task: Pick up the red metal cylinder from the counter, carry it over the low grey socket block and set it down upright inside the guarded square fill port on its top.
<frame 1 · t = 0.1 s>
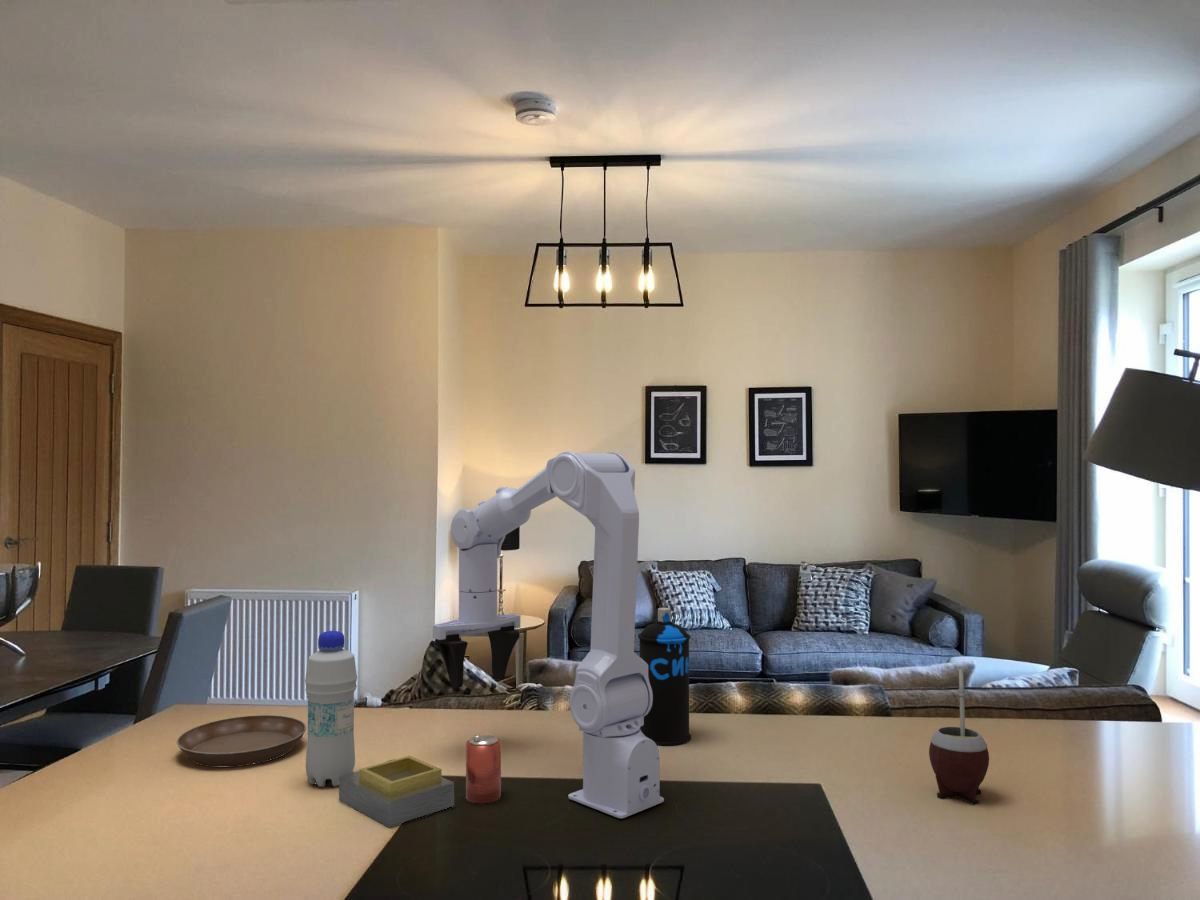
hand: (477, 681, 129), 10 cm above the kitchen counter, tool pointing down, fingers open, 7 cm apart
grey socket block: (395, 803, 108), on the kitchen counter
mate gourd: (958, 795, 111), on the kitchen counter
bottle: (330, 782, 115), on the kitchen counter
aerosol can: (664, 739, 134), on the kitchen counter
plant saucer: (243, 753, 128), on the kitchen counter
red metal cylinder: (483, 797, 110), on the kitchen counter
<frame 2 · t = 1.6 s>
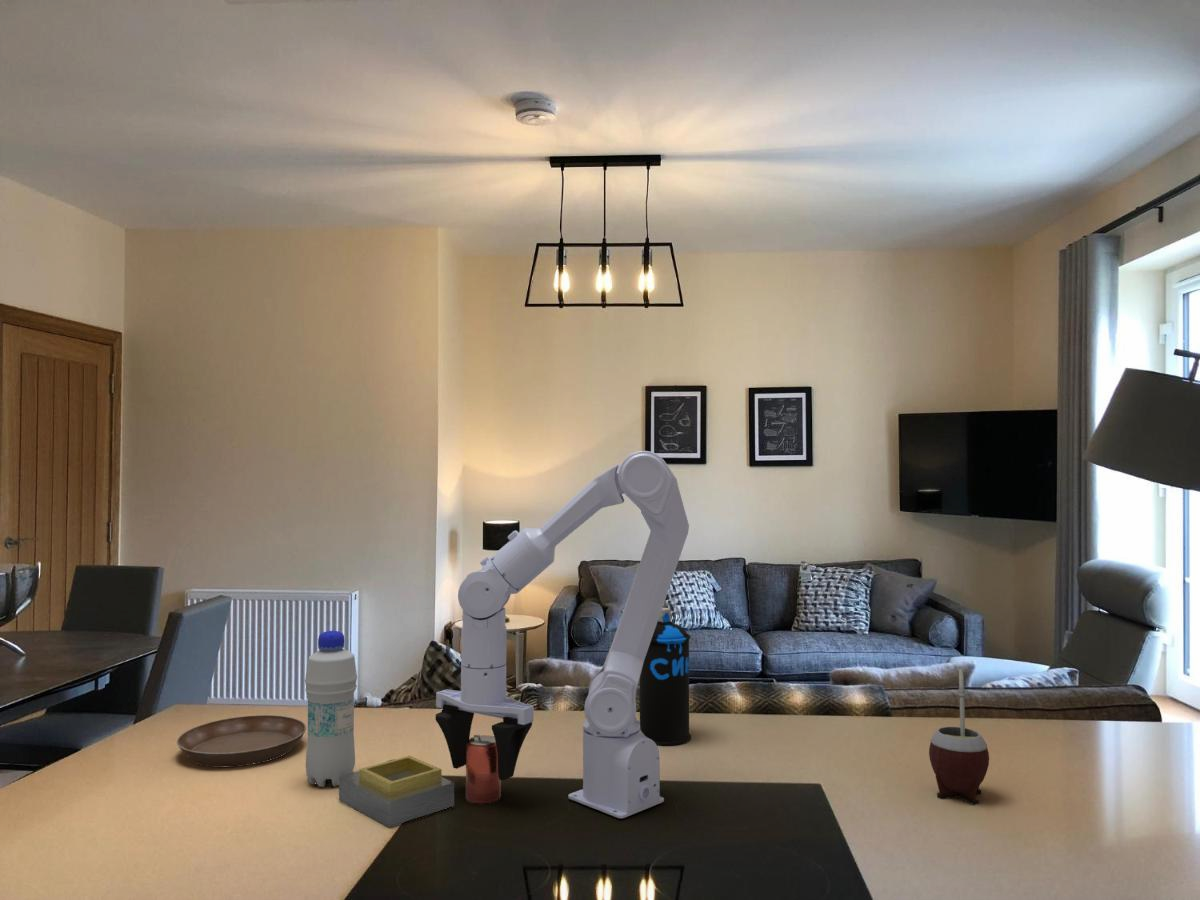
hand: (482, 771, 110), 3 cm above the kitchen counter, tool pointing down, fingers open, 7 cm apart
nothing on the kitchen counter moved.
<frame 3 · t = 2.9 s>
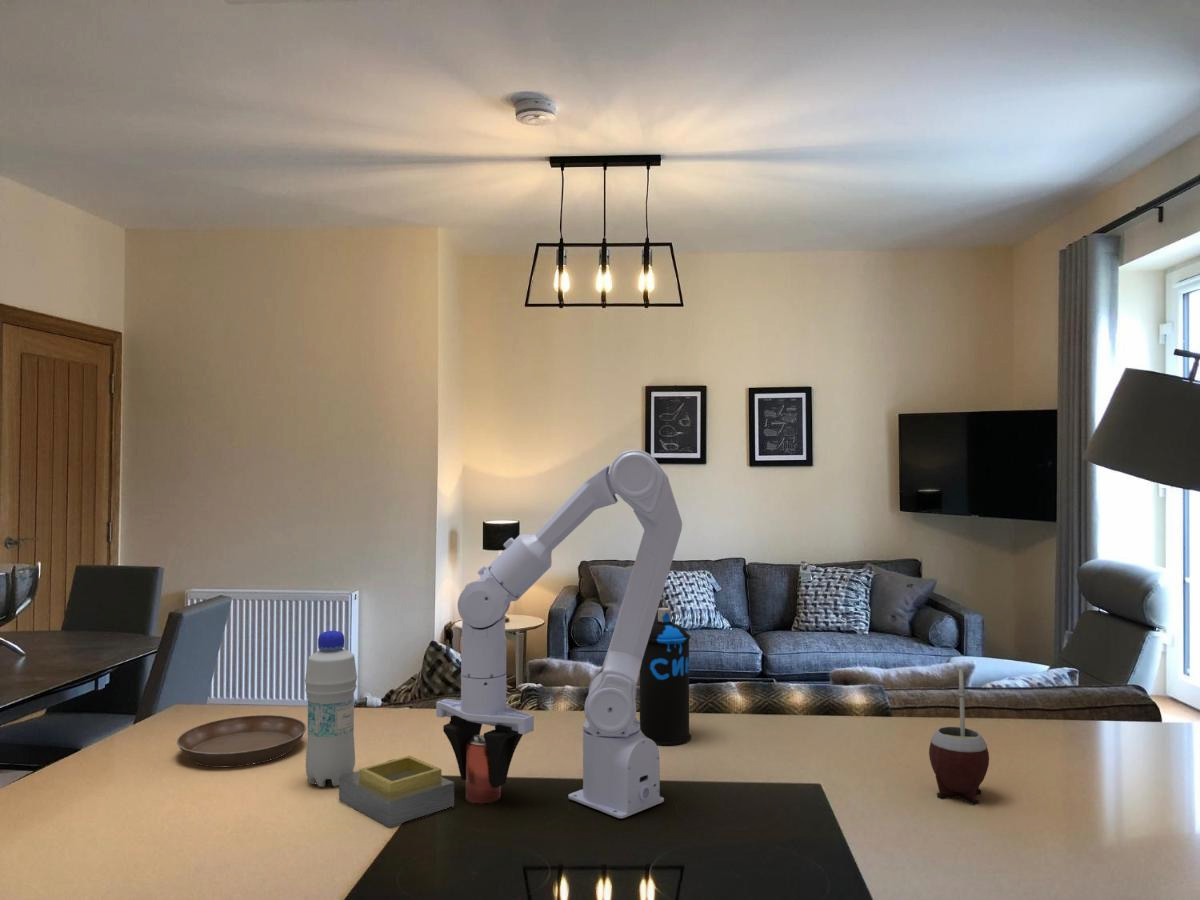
hand: (483, 781, 110), 2 cm above the kitchen counter, tool pointing down, fingers closed on red metal cylinder, 4 cm apart
red metal cylinder: (483, 797, 110), on the kitchen counter, touching gripper
everything else where it was.
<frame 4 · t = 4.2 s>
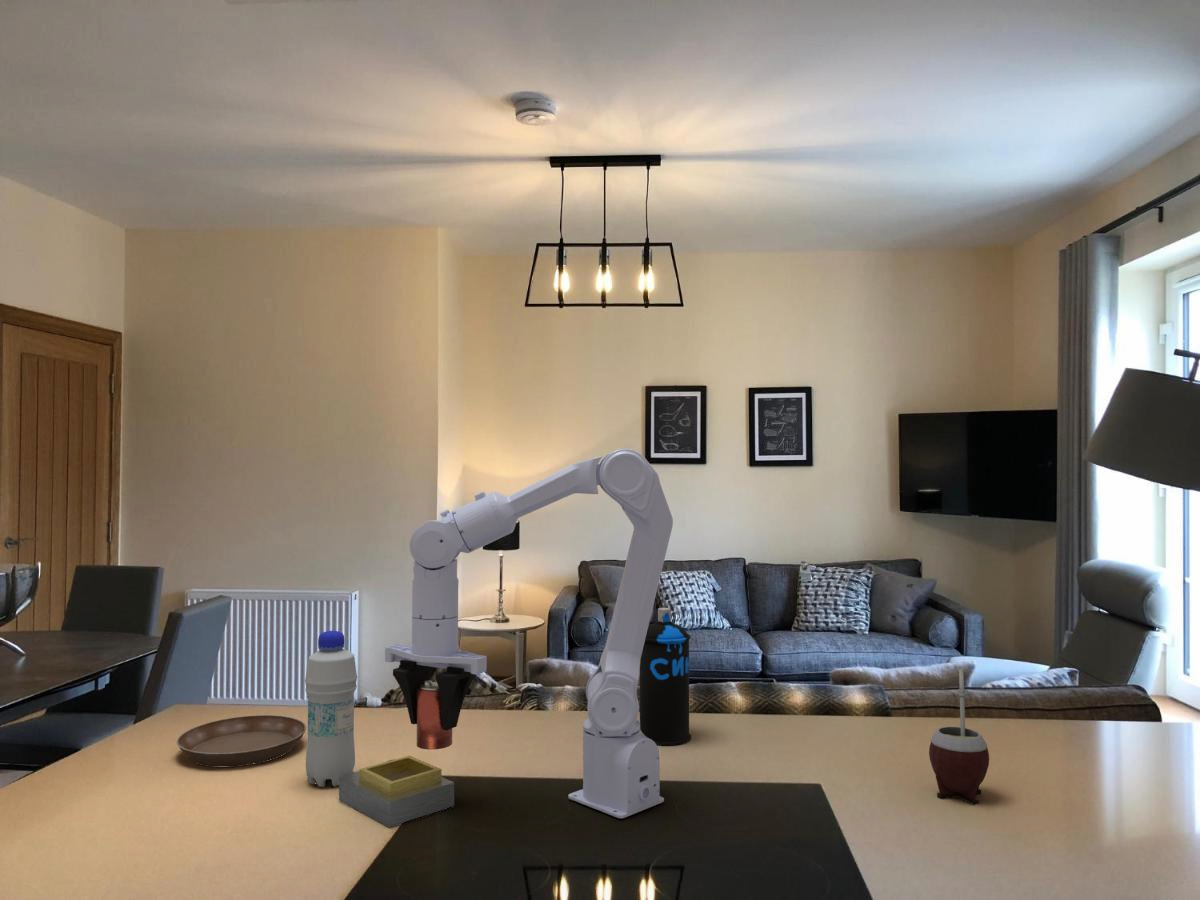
hand: (433, 725, 108), 10 cm above the kitchen counter, tool pointing down, fingers closed on red metal cylinder, 4 cm apart
red metal cylinder: (434, 743, 108), point 7 cm above the kitchen counter, touching gripper
everything else where it was.
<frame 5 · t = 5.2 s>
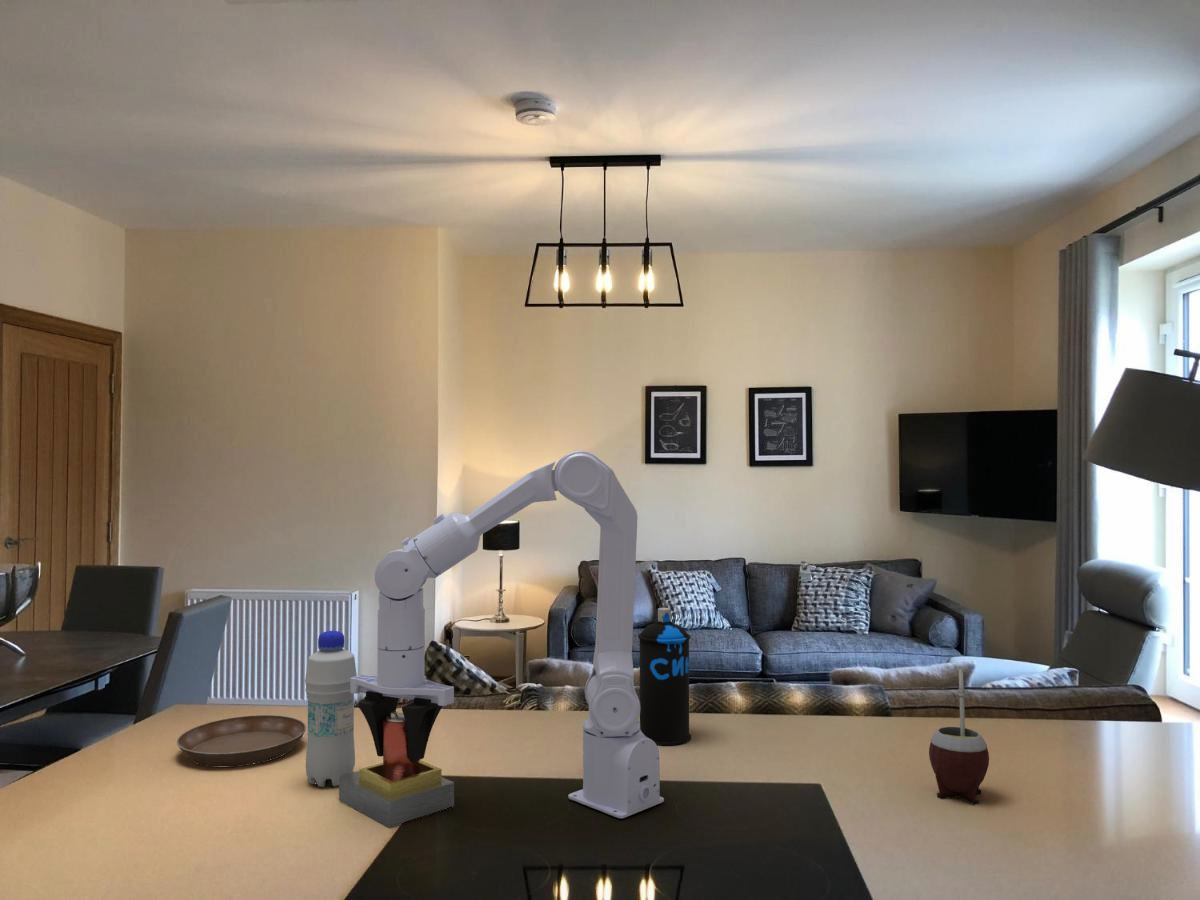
hand: (400, 756, 107), 6 cm above the kitchen counter, tool pointing down, fingers closed on red metal cylinder, 4 cm apart
red metal cylinder: (401, 775, 107), point 4 cm above the kitchen counter, touching gripper
everything else where it was.
when the fingers open (6 cm above the kitchen counter, at t = 5.9 s): red metal cylinder stays where it is, resting on grey socket block.
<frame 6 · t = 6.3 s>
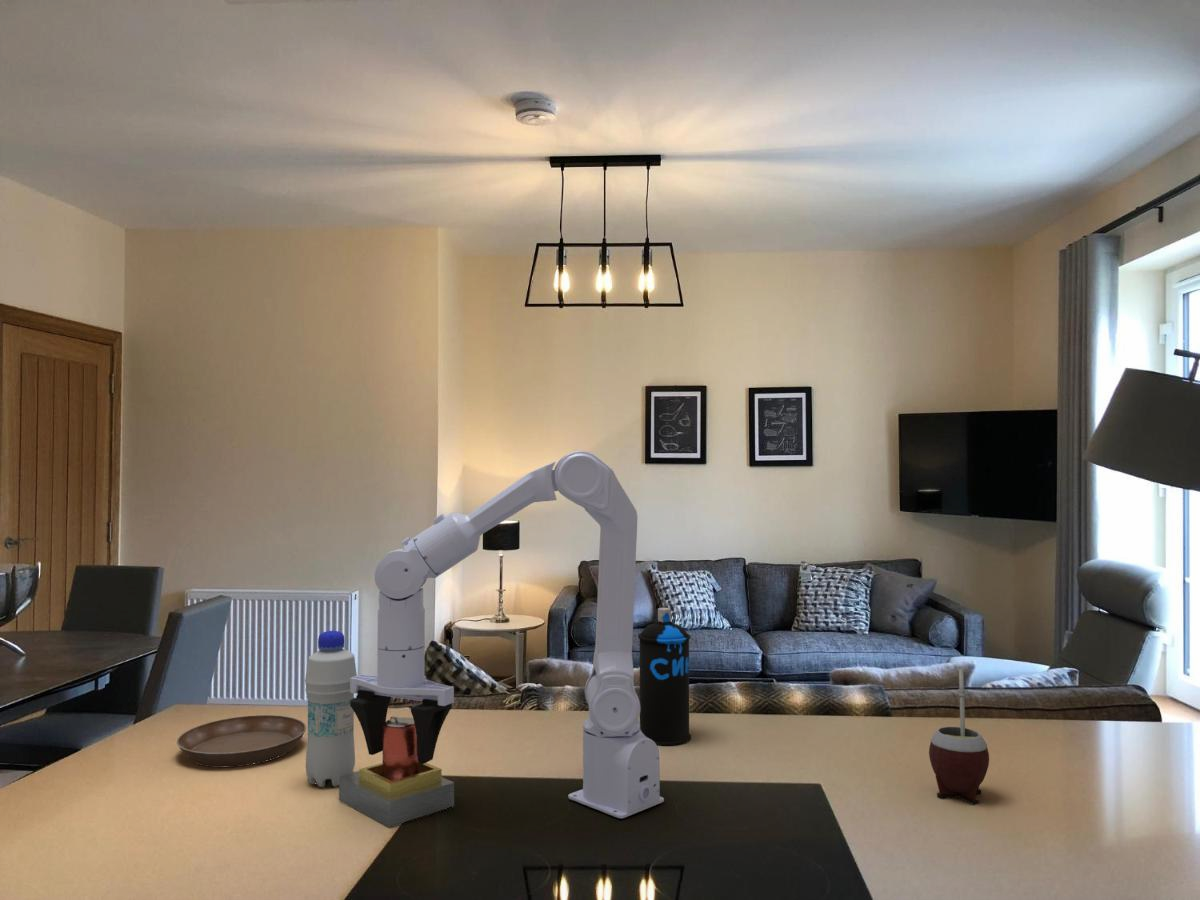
hand: (400, 756, 107), 6 cm above the kitchen counter, tool pointing down, fingers open, 7 cm apart
red metal cylinder: (400, 780, 107), point 3 cm above the kitchen counter, touching grey socket block
everything else where it was.
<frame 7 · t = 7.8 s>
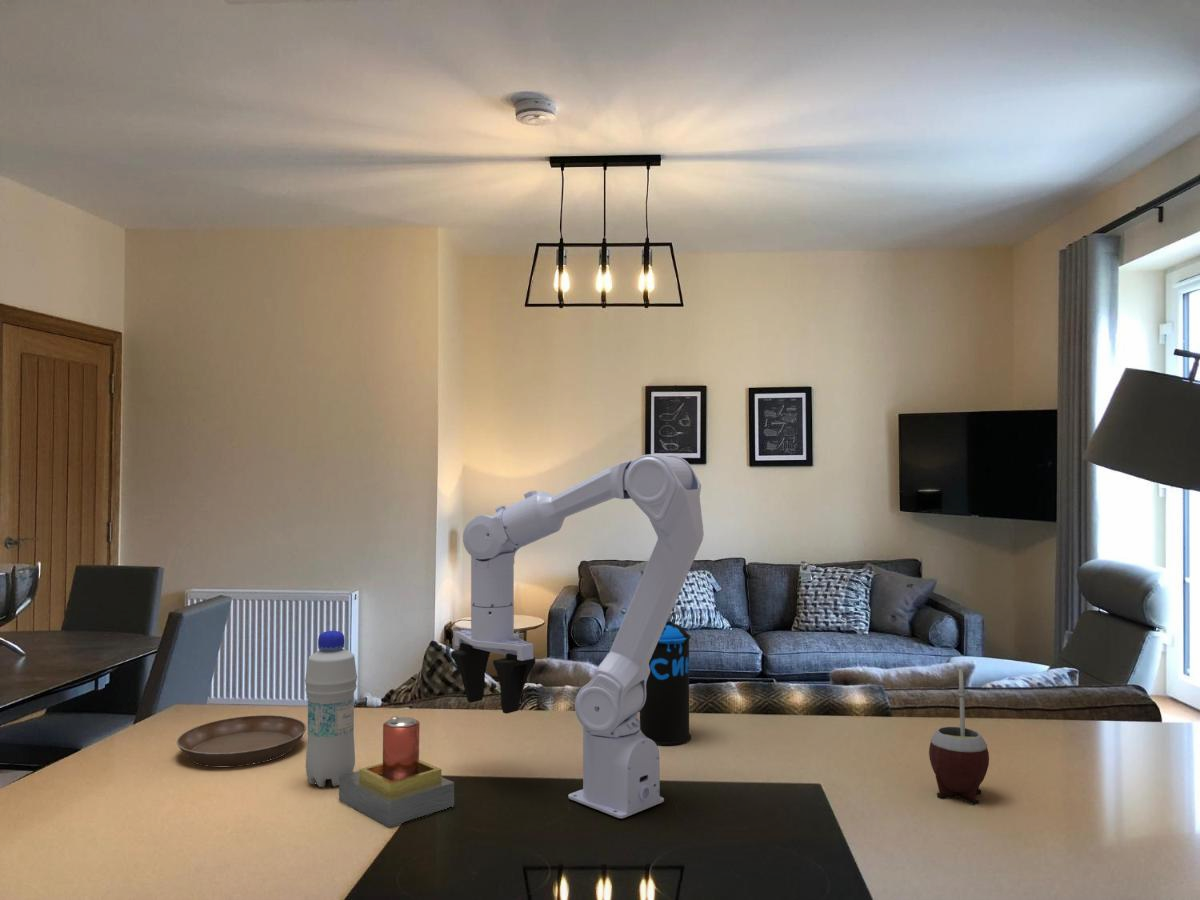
hand: (492, 706, 116), 10 cm above the kitchen counter, tool pointing down, fingers open, 7 cm apart
nothing on the kitchen counter moved.
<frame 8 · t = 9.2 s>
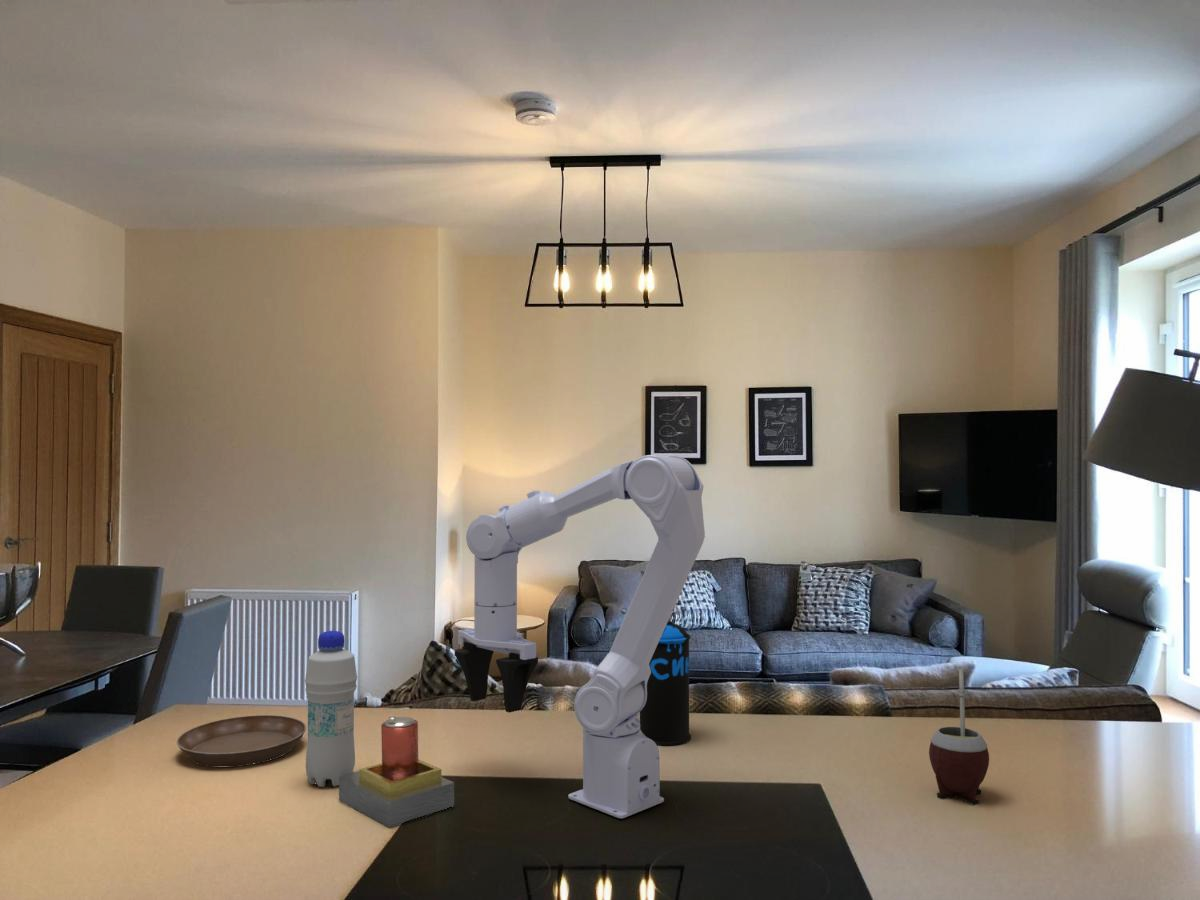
hand: (495, 705, 116), 10 cm above the kitchen counter, tool pointing down, fingers open, 7 cm apart
nothing on the kitchen counter moved.
at the end: red metal cylinder 0.1 cm off-centre on the grey socket block, point 3.1 cm above the grey socket block's base; red metal cylinder tilted 2°; the gripper is holding nothing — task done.
